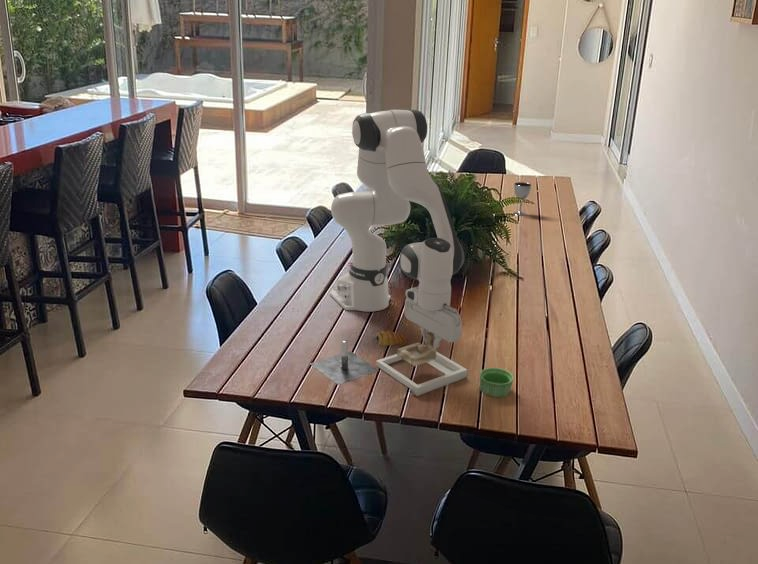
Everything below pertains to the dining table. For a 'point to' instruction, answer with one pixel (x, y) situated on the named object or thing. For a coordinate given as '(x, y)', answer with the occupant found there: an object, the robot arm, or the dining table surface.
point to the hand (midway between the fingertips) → (430, 344)
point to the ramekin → (496, 382)
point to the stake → (344, 366)
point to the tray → (441, 363)
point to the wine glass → (521, 194)
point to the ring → (419, 351)
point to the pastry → (390, 338)
